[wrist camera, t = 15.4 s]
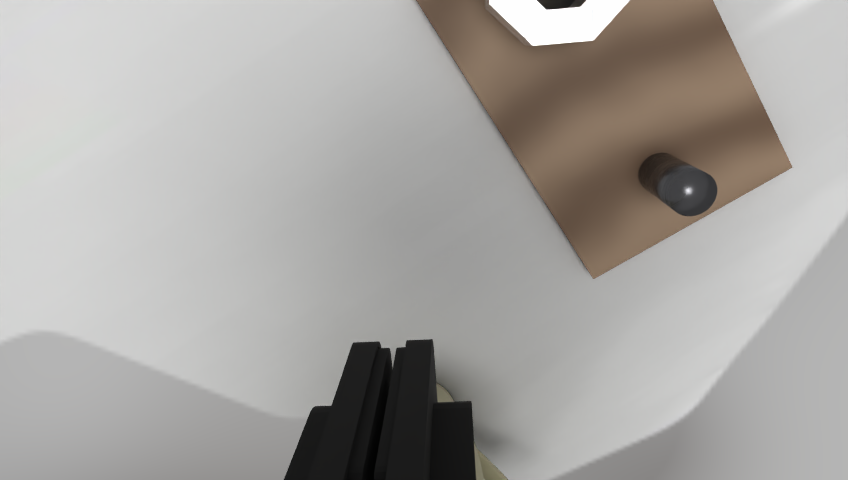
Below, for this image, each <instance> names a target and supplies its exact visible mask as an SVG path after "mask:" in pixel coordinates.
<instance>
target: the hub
mask: <svg viewBox="0 0 848 480" xmlns="http://www.w3.org/2000/svg"><path fill="white" fill-rule="evenodd" d="M536 1H537V2H538V3H539V4H540V5H541V6H542V7H544V8H545V9H546V10H554V9H566V8H569V7H570V6H571V4H572V3H573V2H574V1H575V0H536Z"/></svg>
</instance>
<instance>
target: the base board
mask: <svg viewBox="0 0 848 480" xmlns="http://www.w3.org/2000/svg"><path fill="white" fill-rule="evenodd" d="M416 1H417V2H418V4H419V5H420V7H421V8H422V10H423V12H424V13H425V15H426V16H427V18H428V19H429V21H430V23H431V24H432V26H433V27H434V29H435V31H436V32H437V34H438V35H439V37H440V38H441V40H442V42H443V43H444V45H445V46H446V48H447V49H448V51H449V53H450V54H451V56H452V57H453V59H454V60H455V62H456V64H457V65H458V67H459V68H460V70H461V71H462V73H463V75H464V76H465V78H466V79H467V81H468V82H469V84H470V86H471V87H472V89H473V90H474V92H475V93H476V95H477V97H478V98H479V100H480V101H481V103H482V104H483V106H484V108H485V109H486V111H487V112H488V114H489V115H490V117H491V119H492V120H493V122H494V123H495V125H496V126H497V128H498V130H499V131H500V133H501V134H502V136H503V137H504V139H505V141H506V142H507V144H508V145H509V147H510V149H511V150H512V152H513V153H514V155H515V156H516V158H517V160H518V161H519V163H520V164H521V166H522V167H523V169H524V171H525V172H526V174H527V175H528V177H529V178H530V180H531V182H532V183H533V185H534V186H535V188H536V189H537V191H538V193H539V194H540V196H541V197H542V199H543V200H544V202H545V204H546V205H547V207H548V208H549V210H550V211H551V213H552V215H553V216H554V218H555V219H556V221H557V222H558V224H559V226H560V227H561V229H562V230H563V232H564V233H565V235H566V237H567V238H568V240H569V241H570V243H571V244H572V246H573V248H574V249H575V251H576V252H577V254H578V255H579V257H580V259H581V260H582V262H583V263H584V265H585V267H586V268H587V270H588V271H589V273H590V274H591V276H592V278H593V279H595V278H596V277H598V276H600V275H602V274H604V273H605V272H607V271H609V270H611V269H612V268H614V267H616V266H618V265H620V264H621V263H623V262H625V261H627V260H628V259H630V258H632V257H634V256H636V255H637V254H639V253H641V252H643V251H644V250H646V249H648V248H650V247H652V246H653V245H655V244H657V243H659V242H660V241H662V240H664V239H666V238H668V237H669V236H671V235H673V234H675V233H677V232H678V231H680V230H682V229H684V228H685V227H687V226H689V225H691V224H693V223H694V222H696V221H698V220H700V219H701V218H703V217H705V216H707V215H709V214H710V213H712V212H714V211H716V210H717V209H719V208H721V207H723V206H725V205H726V204H728V203H730V202H732V201H733V200H735V199H737V198H739V197H741V196H742V195H744V194H746V193H748V192H750V191H751V190H753V189H755V188H757V187H758V186H760V185H762V184H764V183H766V182H767V181H769V180H771V179H773V178H774V177H776V176H778V175H780V174H782V173H783V172H785V171H787V170H789V169H790V168H792V165H791V163H790V161H789V159H788V157H787V155H786V153H785V151H784V149H783V146H782V144H781V142H780V140H779V138H778V136H777V134H776V132H775V130H774V128H773V125H772V123H771V121H770V119H769V117H768V115H767V113H766V111H765V109H764V107H763V104H762V102H761V100H760V98H759V96H758V94H757V92H756V90H755V88H754V86H753V84H752V81H751V79H750V77H749V75H748V73H747V71H746V69H745V67H744V65H743V63H742V60H741V58H740V56H739V54H738V52H737V50H736V48H735V46H734V44H733V42H732V39H731V37H730V35H729V33H728V31H727V29H726V27H725V25H724V23H723V21H722V18H721V16H720V14H719V12H718V10H717V8H716V6H715V4H714V2H713V0H630V1H629V2H628V3H627V4H626V5H625V6H624V7H623V8H622V9H621V11H620V12H619V13H618V14H617V15H616V16H615V17H614V18H613V19H612V20H611V22H610V23H609V24H608V25H607V26H606V27H605V28H604V29H603V30H602V31H601V32H600V34H599V35H598V36H597V37H596V38H595V39H594V40H592V41H580V42H568V43H556V44H544V45H523V44H522V43H521V42H520V41H519V40H518V39H517V38H516V37H515V36H514V35H513V34H512V33H511V32H510V31H508V30H507V29H506V28H505V27H504V26H503V25H502V24H501V23H500V22H499V21H498V20H497V19H496V18H495V17H494V16H493V15H492V14H491V13H490V12H489V11H487V10H486V9H485V0H416ZM656 153H668V154H670V155H672V156H674V157H676V158H678V159H680V160H682V161H684V162H686V163H688V164H690V165H692V166H694V167H696V168H698V169H700V170H702V171H704V172H706V173H708V174H709V175H711V176H712V177H713V178H714V180H715V182H716V184H717V196H716V199H715V201H714V203H713V204H712V206H711V207H710V208H709V209H708V210H707V211H705V212H704V213H702V214H699V215H696V216H683V215H680V214H678V213H677V212H675V211H674V210H673V209H671V208H670V207H669V206H667V205H666V204H665V203H663V202H662V201H661V200H659V199H658V198H657V197H655V196H654V195H653V194H651V193H650V192H649V191H647V190H646V189H645V188H643V187H642V185H641V184H640V182H639V178H638V172H639V168H640V166H641V164H642V163H643V161H644V160H645V159H646V158H648V157H649V156H651V155H653V154H656Z"/></svg>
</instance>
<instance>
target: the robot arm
mask: <svg viewBox="0 0 848 480" xmlns="http://www.w3.org/2000/svg"><path fill="white" fill-rule="evenodd" d="M284 480H476V468H475V452H474V435H473V419H472V403H471V401H461V402H438V400H437V386H436V373H435V360H434V347H433V340H432V339H430V340H407V341H406V347H402V348H397V349H396V354H395V360H394V365H393V370H392V361H391V352H390V349H389V348H381V344H380V342H357V343H353V344H352V347H351V350H350V353H349V356H348V359H347V362H346V365H345V367H344V370H343V373H342V376H341V379H340V382H339V385H338V388H337V391H336V394H335V397H334V400H333V403H332V406H315V407H314V408H312V410H311V412H310V414H309V417H308V419H307V422H306V425H305V427H304V430H303V432H302V435H301V437H300V440H299V442H298V445H297V448H296V450H295V453H294V455H293V458H292V460H291V463H290V466H289V468H288V471H287V473H286V476H285V479H284Z"/></svg>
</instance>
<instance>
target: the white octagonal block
mask: <svg viewBox="0 0 848 480" xmlns="http://www.w3.org/2000/svg"><path fill="white" fill-rule="evenodd" d="M629 1H630V0H575V1H574V2H573V3H572V4H571V6H570V7H569V8H566V9H554V10H546V9H545V8H544V7H542V6H541V5H540V4H539V3H538V2H537V1H536V0H485V9H486V10H487V11H489V12H490V13H491V14H492V15H493V16H494V17H495V18H496V19H497V20H498V21H499V22H500V23H501V24H502V25H503V26H504V27H505V28H506V29H507V30H508V31H510V32H511V33H512V34H513V35H514V36H515V37H516V38H517V39H518V40H519V41H520V42H521V43H522V44H523V45H544V44H556V43H568V42H580V41H592V40H594V39H595V38H596V37H597V36H598V35H599V34H600V32H601V31H602V30H603V29H604V28H605V27H606V26H607V25H608V24H609V23H610V22H611V20H612V19H613V18H614V17H615V16H616V15H617V14H618V13H619V12H620V11H621V9H622V8H623V7H624V6H625V5H626V4H627V3H628V2H629Z"/></svg>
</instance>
